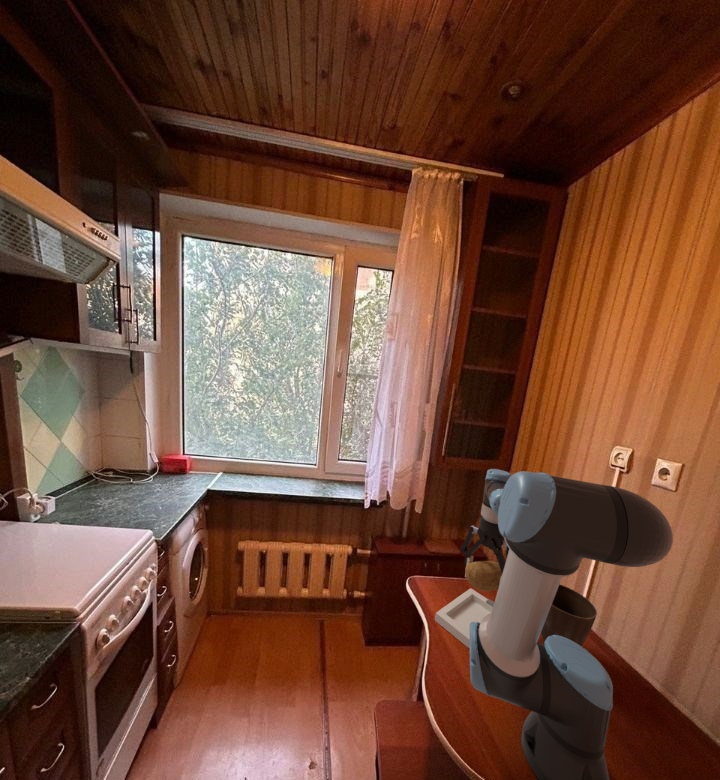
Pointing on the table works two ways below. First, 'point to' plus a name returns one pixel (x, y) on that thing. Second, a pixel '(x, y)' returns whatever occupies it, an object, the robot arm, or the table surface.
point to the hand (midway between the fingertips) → (483, 585)
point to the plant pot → (569, 616)
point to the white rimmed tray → (464, 614)
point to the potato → (484, 575)
